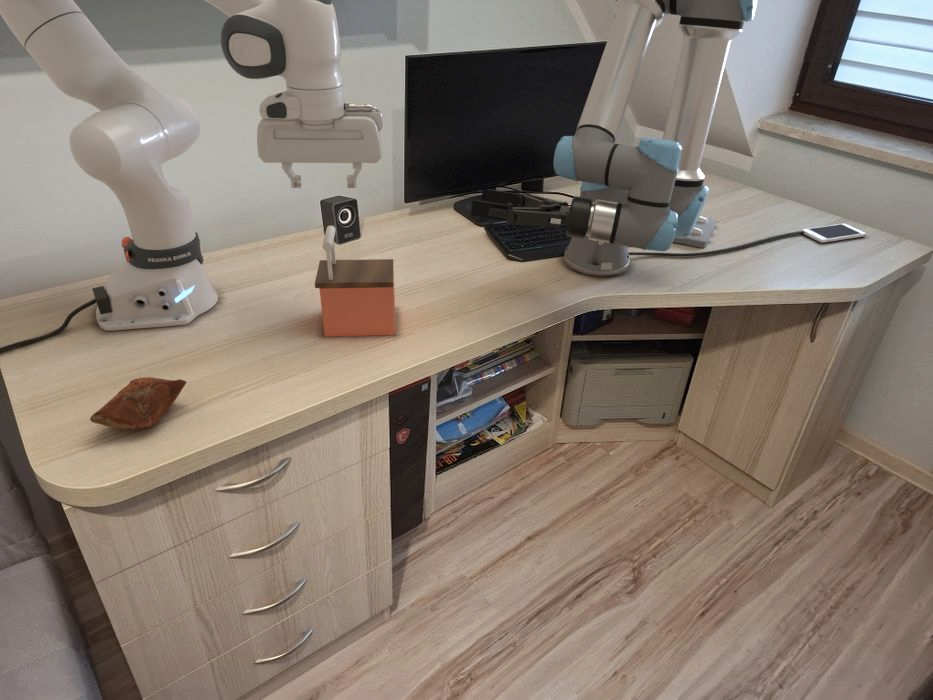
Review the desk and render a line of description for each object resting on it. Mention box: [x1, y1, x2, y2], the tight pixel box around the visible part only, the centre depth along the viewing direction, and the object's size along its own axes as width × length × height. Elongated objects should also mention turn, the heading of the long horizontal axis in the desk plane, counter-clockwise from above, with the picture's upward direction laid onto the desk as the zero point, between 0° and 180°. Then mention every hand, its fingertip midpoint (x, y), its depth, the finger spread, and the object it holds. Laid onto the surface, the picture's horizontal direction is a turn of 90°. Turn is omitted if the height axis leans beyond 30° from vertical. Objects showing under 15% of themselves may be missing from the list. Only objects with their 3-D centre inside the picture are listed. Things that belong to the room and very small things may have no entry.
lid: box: [314, 224, 394, 289], centre depth 118 cm, size 14×10×9 cm
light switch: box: [673, 215, 716, 249], centre depth 169 cm, size 18×3×15 cm
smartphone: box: [801, 223, 866, 244], centre depth 171 cm, size 7×16×1 cm, turn 111°
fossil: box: [89, 376, 188, 431], centre depth 97 cm, size 13×8×10 cm
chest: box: [318, 265, 396, 338], centre depth 123 cm, size 13×10×10 cm
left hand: (324, 187), depth 110 cm, fingers open, 8 cm apart
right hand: (479, 201), depth 123 cm, fingers open, 13 cm apart
